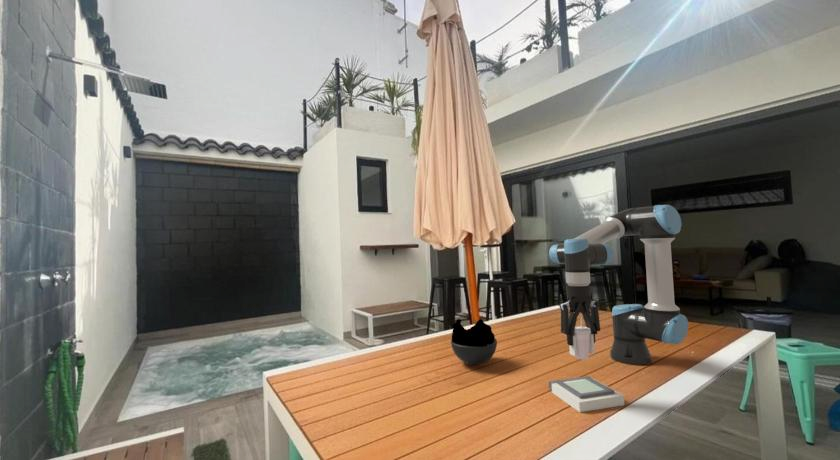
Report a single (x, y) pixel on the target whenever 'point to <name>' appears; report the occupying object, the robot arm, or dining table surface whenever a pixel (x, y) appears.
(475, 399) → the dining table surface
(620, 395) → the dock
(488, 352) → the bowl of black rocks
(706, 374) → the dining table surface
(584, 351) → the smoothie
